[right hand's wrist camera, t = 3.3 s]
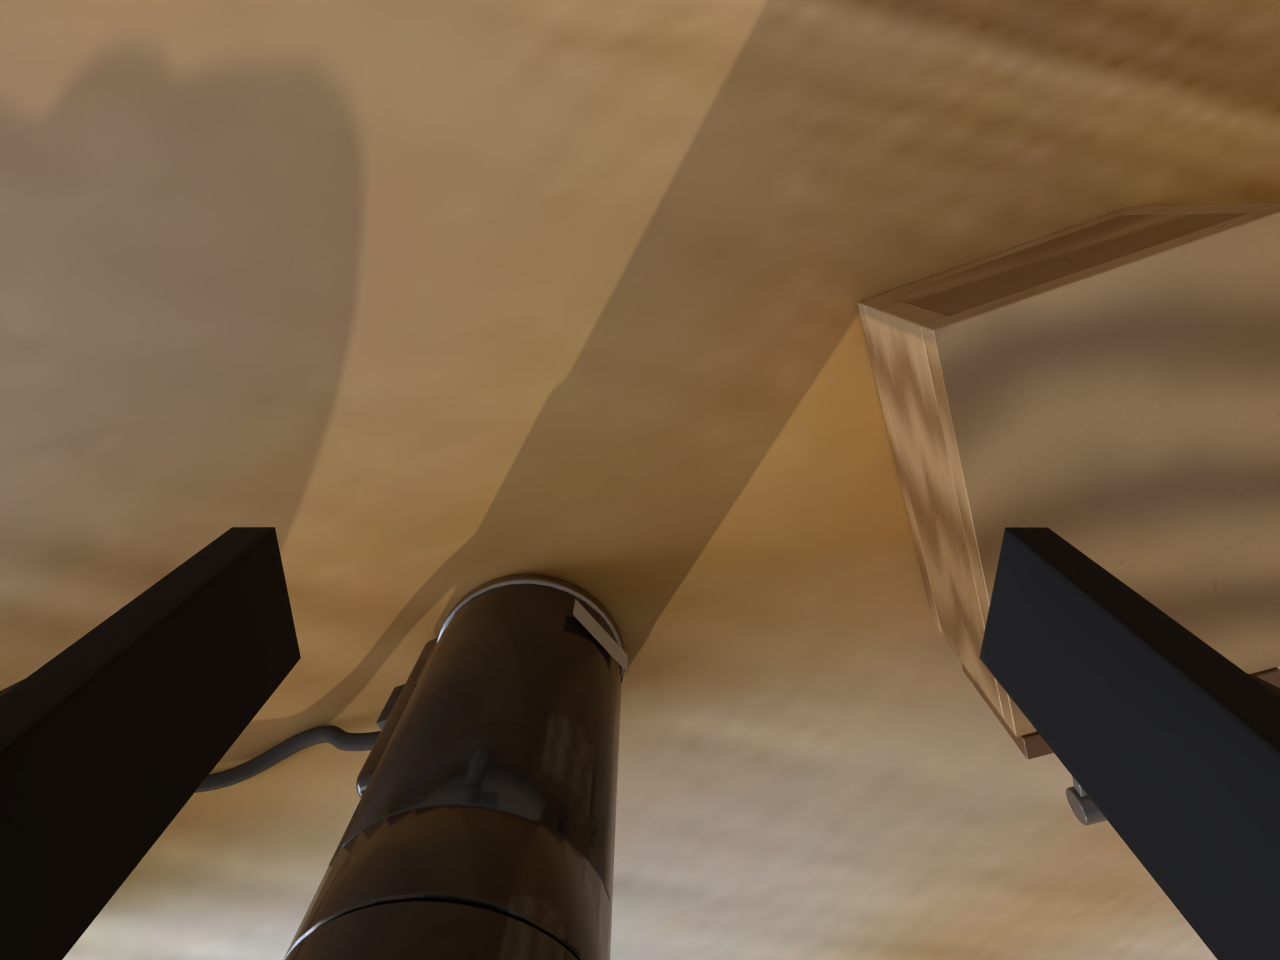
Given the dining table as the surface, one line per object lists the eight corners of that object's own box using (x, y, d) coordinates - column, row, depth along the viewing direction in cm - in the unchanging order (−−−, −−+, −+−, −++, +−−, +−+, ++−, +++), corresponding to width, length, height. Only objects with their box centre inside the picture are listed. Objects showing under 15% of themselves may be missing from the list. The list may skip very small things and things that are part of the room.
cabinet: (1165, 557, 33) (1319, 655, 26) (933, 625, 35) (1016, 737, 27) (1130, 206, 28) (1313, 200, 20) (856, 302, 29) (932, 330, 22)
